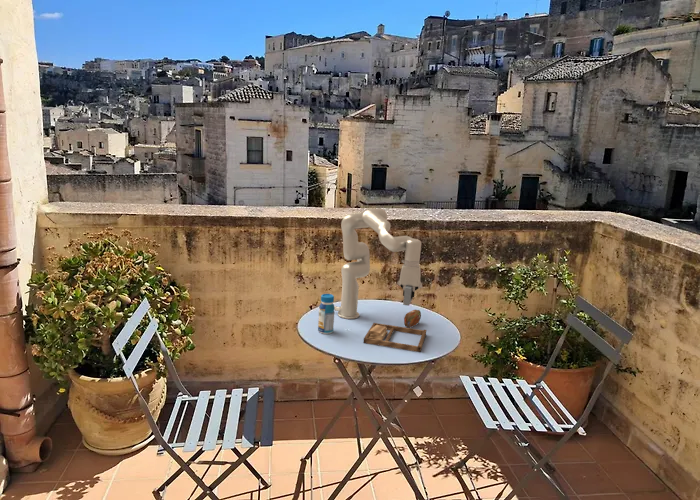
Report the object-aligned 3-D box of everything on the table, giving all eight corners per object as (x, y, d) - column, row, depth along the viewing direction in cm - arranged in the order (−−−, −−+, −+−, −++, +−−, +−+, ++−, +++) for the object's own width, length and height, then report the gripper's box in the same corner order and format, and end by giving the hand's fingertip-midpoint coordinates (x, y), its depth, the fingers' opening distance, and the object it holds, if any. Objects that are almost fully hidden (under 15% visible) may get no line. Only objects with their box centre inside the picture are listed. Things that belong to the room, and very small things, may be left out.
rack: (363, 342, 276) (363, 337, 275) (373, 326, 299) (373, 321, 298) (420, 352, 269) (420, 346, 268) (425, 335, 292) (426, 329, 291)
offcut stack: (368, 340, 281) (368, 331, 280) (374, 331, 293) (375, 323, 292) (381, 342, 279) (382, 333, 278) (387, 334, 291) (388, 325, 290)
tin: (407, 329, 299) (408, 315, 297) (402, 327, 300) (403, 313, 298) (420, 322, 310) (422, 308, 308) (416, 321, 312) (417, 307, 310)
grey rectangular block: (403, 304, 274) (404, 287, 271) (406, 297, 285) (408, 281, 283) (409, 305, 273) (410, 288, 271) (412, 298, 284) (414, 282, 282)
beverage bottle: (331, 335, 283) (333, 298, 278) (315, 333, 284) (317, 296, 280) (335, 329, 291) (337, 294, 286) (319, 327, 292) (321, 292, 288)
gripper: (394, 262, 273) (391, 297, 277) (426, 267, 269) (423, 302, 273) (397, 259, 280) (394, 293, 284) (428, 263, 276) (425, 298, 280)
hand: (408, 297), depth 278 cm, fingers closed on grey rectangular block, 3 cm apart
